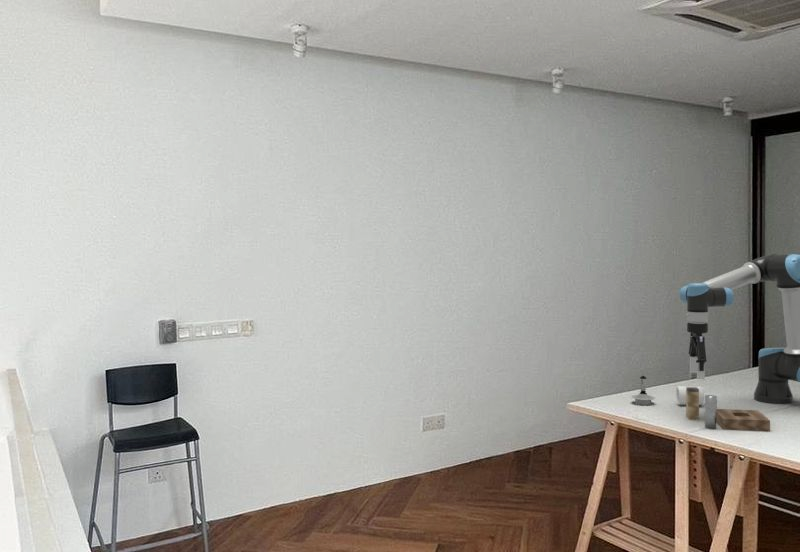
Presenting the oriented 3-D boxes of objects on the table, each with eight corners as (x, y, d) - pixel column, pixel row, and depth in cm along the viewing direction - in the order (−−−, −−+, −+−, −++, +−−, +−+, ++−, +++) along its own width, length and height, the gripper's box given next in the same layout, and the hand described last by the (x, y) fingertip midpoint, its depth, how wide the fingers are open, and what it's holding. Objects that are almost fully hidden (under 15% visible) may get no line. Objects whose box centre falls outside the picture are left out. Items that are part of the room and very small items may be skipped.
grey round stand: (659, 375, 305) (637, 372, 311) (649, 378, 297) (627, 375, 304) (659, 403, 305) (637, 399, 312) (649, 407, 298) (627, 403, 305)
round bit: (715, 426, 265) (715, 395, 264) (717, 429, 261) (717, 397, 260) (703, 426, 266) (704, 394, 265) (706, 428, 262) (706, 397, 261)
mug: (704, 407, 296) (704, 388, 295) (679, 406, 298) (679, 388, 297) (698, 401, 307) (698, 383, 307) (674, 400, 309) (674, 382, 309)
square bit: (696, 417, 279) (696, 387, 279) (698, 419, 275) (698, 389, 275) (686, 416, 280) (686, 387, 280) (688, 419, 276) (688, 389, 276)
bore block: (758, 420, 272) (758, 410, 272) (770, 431, 257) (770, 420, 257) (714, 418, 276) (714, 408, 276) (723, 429, 260) (723, 418, 260)
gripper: (681, 319, 288) (681, 370, 289) (693, 325, 263) (693, 381, 264) (700, 319, 286) (700, 370, 287) (715, 326, 262) (714, 382, 263)
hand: (697, 376), depth 276 cm, fingers open, 13 cm apart
